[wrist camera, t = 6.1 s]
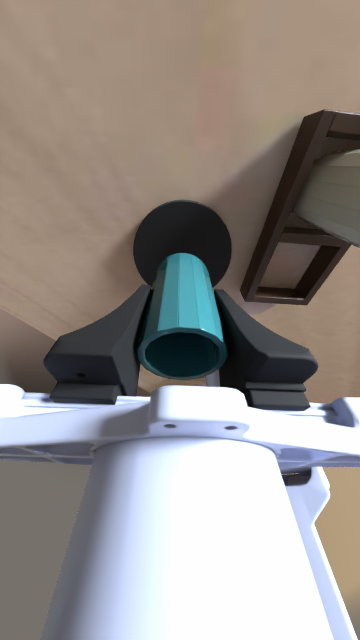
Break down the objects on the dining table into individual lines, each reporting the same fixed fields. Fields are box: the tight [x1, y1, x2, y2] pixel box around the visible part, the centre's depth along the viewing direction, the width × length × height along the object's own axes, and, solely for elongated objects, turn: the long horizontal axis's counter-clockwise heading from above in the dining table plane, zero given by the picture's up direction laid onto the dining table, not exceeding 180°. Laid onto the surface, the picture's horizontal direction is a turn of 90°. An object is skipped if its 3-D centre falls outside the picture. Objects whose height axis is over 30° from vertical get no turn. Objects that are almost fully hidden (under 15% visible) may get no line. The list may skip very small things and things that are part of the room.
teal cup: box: [137, 253, 228, 380], centre depth 12 cm, size 4×4×8 cm
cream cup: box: [293, 149, 360, 248], centre depth 11 cm, size 4×4×8 cm
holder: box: [240, 109, 360, 305], centre depth 15 cm, size 7×14×2 cm, turn 176°
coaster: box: [134, 200, 232, 288], centre depth 18 cm, size 10×10×1 cm
